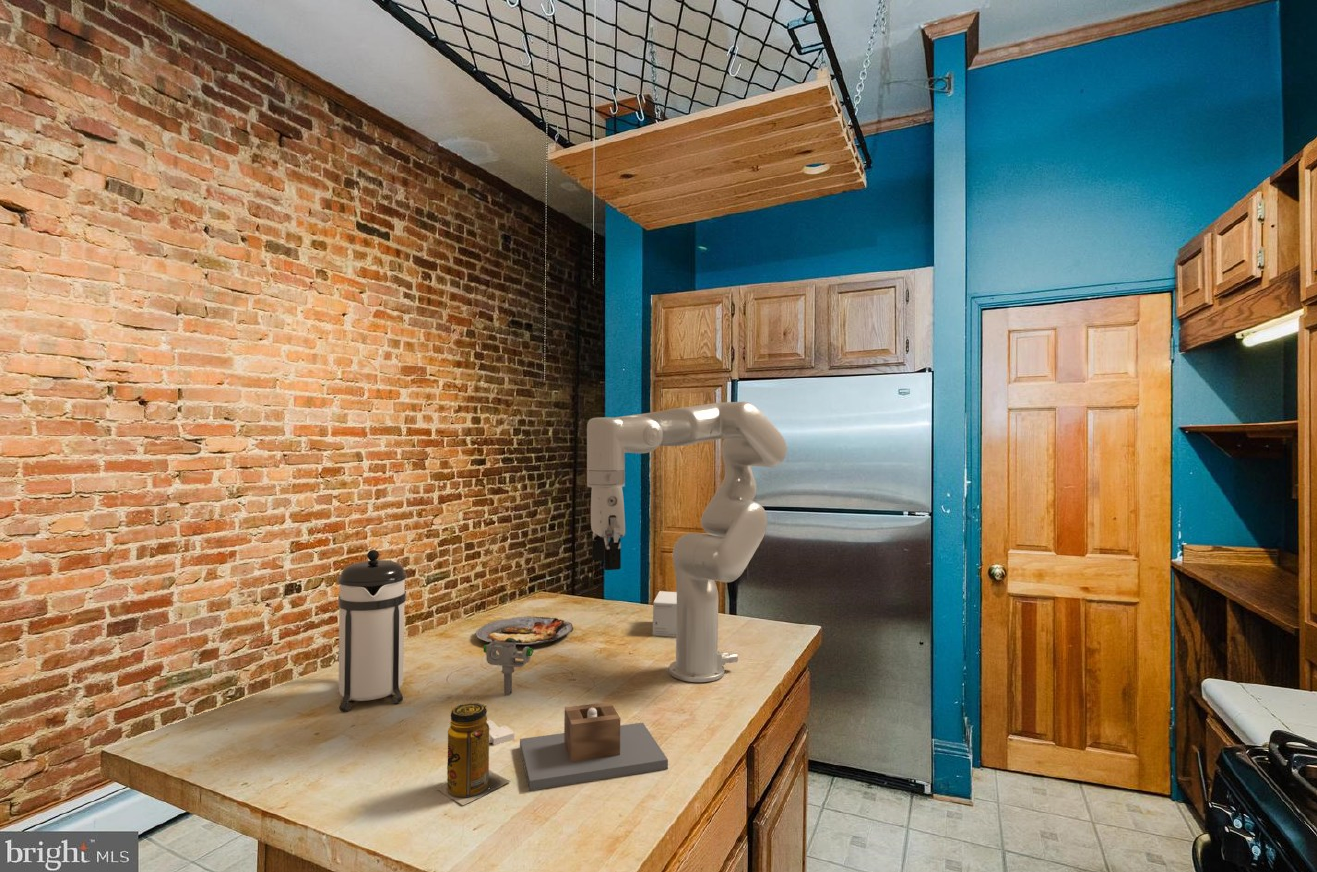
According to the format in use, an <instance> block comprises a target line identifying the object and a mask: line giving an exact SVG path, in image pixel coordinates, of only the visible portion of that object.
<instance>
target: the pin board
mask: <svg viewBox="0 0 1317 872" xmlns="http://www.w3.org/2000/svg"><path fill="white" fill-rule="evenodd" d="M592 717H597V710H596V709H595V708H590V709H589V710H588V712H587V718H592ZM519 749H520V755H521V758H522V762H523V763H522V764H523V767H524V772H525V776H526V780H527V783H528V788H529V789H528V790H529V791H530V792H531V791H537V790H543V789H549V788H555V787H563V786H569V785H573V784H581V783H588V782H593V781H599V780H605V779H613V778H619V777H620V778H621V777H624V776H631V775H637V774H645V773H650V772H656V771H664V770H667V769H668V768H669V759H668V758H667V756H666V754H665V753H664V751H663V750H662V749H661V747H660V745H659V744H658V742H657V741H656V740H655V738H654V736H653V735H652V734H651V732H650V731H649V729H648V728H647V726H646V725H645V723H644V722H638V723H629V724H620V755H617V756H610V757H603V758H596V759H590V760H583V761H576V762H571V760H570V757H569V754H568V752H567V749H566V746H565V744H564V732H562V733H561V732H560V733H554V734H547V735H546V734H545V735H539V736H531V737H525V738H519Z"/></svg>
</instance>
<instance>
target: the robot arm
mask: <svg viewBox="0 0 1317 872" xmlns="http://www.w3.org/2000/svg"><path fill="white" fill-rule="evenodd" d="M722 439H723V442H722V444H721V445H722V446H721V453H722V458H723V459H722V460H723V465H724V478H723V480H722V481H721V484H720V485H719V487H718V488H717V490H716V492H715V493H714V495H713V496H712V498H710V499H711V500H710V501H709V502H708V504H707V505H706V507H705V508H704V511H703V512H702V515H701V519H700V525H701V528H702V530H703V532H705V533H700V532H688V533H685V534H683V535H681V536H680V537H678V538H677V540H676V541H675V543H674V545H673V548H672V563H673V568H674V573H675V574H674V575H675V582H676V583H675V584H676V592H677V613H676V637H675V642H676V643H675V660H674V661H673V662H671V663H670V664H669V666H668V673H669V674H670V675H671V676H672V677H674V678H675V679H677V680H680V681H684V682H689V683H709V682H713V681H717V680H719V679H721V678H723V677H724V675H725V665H726V664H735V663H738V660H739V657H738V654H737V653H728V651H723V652H722V651H719V592H718V587H717V584H716V582H720V583H732V582H735V581H736V580H737V579H738V578H739V577H741V576H742V574H743V573H744V571H745V570H746V569H747V567H748V565H749V563H750V561H751V560H752V558H753V556H754V554H755V553H756V551H757V549H758V548H759V547H760V544H761V543H762V541H763V539H764V536H765V534H766V530H767V525H768V516H767V512H766V510H765V508H764V506H762V505H761V504H760V503H758V502H756V501H754V499H755V497H756V494H757V482H756V479H755V477H754V474H753V473H754V472H753V470H752V467H763V468H771V467H776V466H779V465H780V464H782V462H783V461H784V460H785V458H786V456H787V452H788V451H787V443H786V441H785V438H784V436H783V435H782V433H781V432H780V431H779V430H778V428H777V427H775V425H774V424H773V423H772V422H771V421H770V419H769V418H768V417H767V416H766V415H765V414H764V413H763V412H762V411H761V410H760V409H758V407H756V406H755V405H753V404H752V403H750V402H748V401H728V402H727V401H726V402H713V403H707V404H699V405H693V406H692V405H691V406H685V407H683V406H682V407H678V408H670V409H664V410H659V411H653V412H647V413H646V412H645V413H637V414H632V415H631V414H630V415H623V416H616V417H615V416H614V417H608V416H607V417H592V418H590V419H589V420H588V421H587V424H586V455H587V456H586V467H587V468H586V482H587V483H586V487H588V488H591V494H590V497H591V498H590V526H591V527H590V528H591V529H590V530H591V531H592V537H591V538H592V541H591V542H592V543H591V545H592V546H591V547H592V548H591V550H592V551H591V552H592V553H591V554H592V556H591V557H592V560H593V561H603V569H604V570H605V571H616V570H621V568H622V565H621V564H622V563H621V562H622V561H621V560H622V558H621V557H622V556H621V555H622V554H621V553H622V552H621V548H622V545H621V541H622V540H621V538H623V537H624V536H625V535H626V521H625V520H626V519H625V518H626V517H625V502H624V501H625V500H624V499H625V498H624V493H623V487H626V485H625V484H626V482H625V481H626V480H625V479H626V475H625V474H626V471H625V469H626V467H625V464H626V460H625V456H626V455H625V454H626V453H627V454H628V453H631V454H647V453H650V452H653V451H655V450H656V449H658V448H659V447H682V446H683V447H684V446H685V447H686V446H691V445H695V444H701V443H705V442H711V441H718V440H722Z"/></svg>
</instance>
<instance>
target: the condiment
mask: <svg viewBox="0 0 1317 872" xmlns="http://www.w3.org/2000/svg"><path fill="white" fill-rule="evenodd" d="M487 712H488V710H487V708H486V706H485V705H484V704H482V703H478V702H467V703H462V704H460V705H457V706H455V707H454V708H453V709H451V711H450V723H449V725H450V726H449V728H448V730H447V766H446V767H447V768H446V769H447V771H446V772H447V774H446V775H447V777H446V778H447V779H446V780H447V782H445V783H443V784H442V785H439V786H436V787H435V788H436V789H437V790H439V791H440V792H441V793H443V794H444V795H445V796H447V797H448V798H450V799H452V800H453V801H455V802H456V803H458V804H460V805H462V806H464V805H466V804H469V803H471V802H473V801H475V800H477V799H479V798H480V799H481V798H482V797H483V796H486V795H487V794H489V793H490V792H492V791H494V790H497V789H499V788H501V787H503V786H504V785H506V784H508V783H509V782H511V780H510V779H506V778H505V777H503V776H501V775H499V774H497V773H495V772H494V771H492V770H491V769H490V767H489V766H490V744H489V725H488V724H487V722H486V721H488V717H487Z"/></svg>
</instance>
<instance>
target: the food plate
mask: <svg viewBox="0 0 1317 872" xmlns="http://www.w3.org/2000/svg"><path fill="white" fill-rule="evenodd" d="M573 631H574V626H573V625H572V623H571V622H570V621H566V620H564V619H560V618H557V617H548V616H547V617H546V616H544V617H543V616H532V615H531V616H528V615H527V616H517V617H511V618H505V619H499V620H495V621H492V622H491V621H490V622H487V623H486V624H483V625H482V626H481V627H480V628H478V629H477V630H476V633H475V635H476V637H477V638H479V640H482V641H485V642H486V643H491V642H497V643H512V644H515V645H526V646H527V645H532V646H533V645H539V644H543V643H551V642H554V641H555V640H560V639H562V638H563V637H565V636H567V635H569V634H570V633H573Z"/></svg>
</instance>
